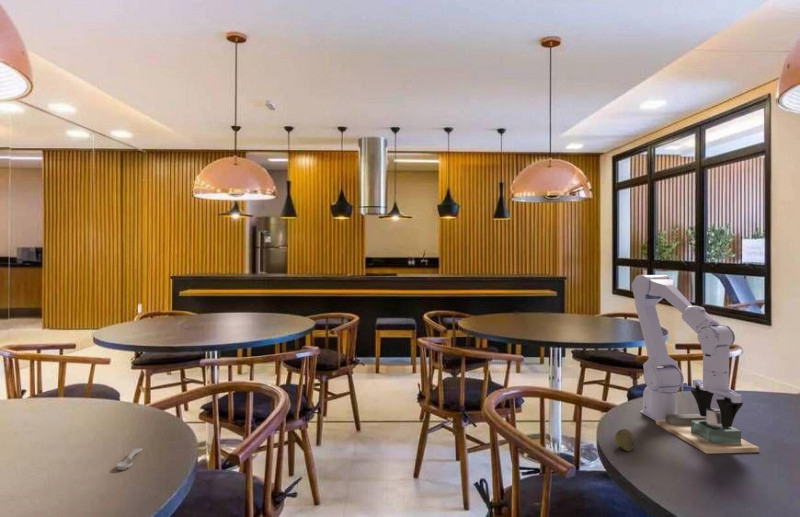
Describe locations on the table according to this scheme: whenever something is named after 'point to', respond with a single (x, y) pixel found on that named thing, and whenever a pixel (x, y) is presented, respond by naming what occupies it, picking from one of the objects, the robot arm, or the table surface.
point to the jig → (706, 434)
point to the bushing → (713, 419)
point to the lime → (625, 439)
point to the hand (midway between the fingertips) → (715, 421)
